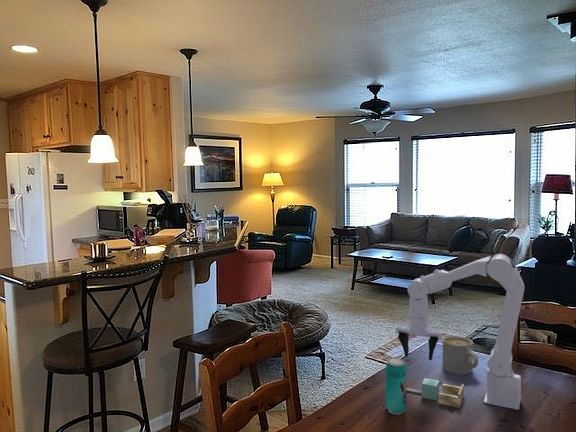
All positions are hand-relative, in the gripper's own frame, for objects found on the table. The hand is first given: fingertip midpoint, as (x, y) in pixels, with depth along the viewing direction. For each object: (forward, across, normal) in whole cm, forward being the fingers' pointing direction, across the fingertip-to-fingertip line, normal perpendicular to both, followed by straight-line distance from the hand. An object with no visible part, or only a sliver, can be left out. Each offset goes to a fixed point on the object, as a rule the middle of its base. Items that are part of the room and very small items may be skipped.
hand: (418, 357), depth 153 cm
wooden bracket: (+10, -11, +6) cm, 15 cm away
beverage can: (+10, +2, +20) cm, 22 cm away
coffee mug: (+10, -10, -18) cm, 23 cm away
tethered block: (+10, -1, +6) cm, 11 cm away
